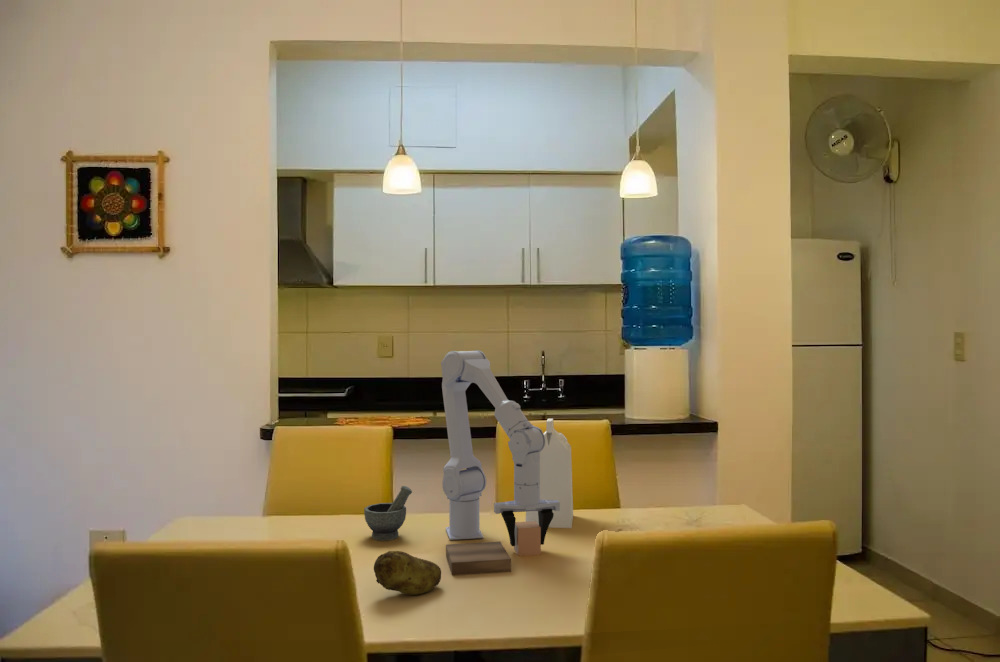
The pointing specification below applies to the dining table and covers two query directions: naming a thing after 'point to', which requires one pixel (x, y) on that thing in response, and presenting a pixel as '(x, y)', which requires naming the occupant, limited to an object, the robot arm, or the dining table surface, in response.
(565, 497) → the milk
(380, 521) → the mortar and pestle
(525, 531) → the terracotta block
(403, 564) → the potato
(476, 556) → the walnut base slab
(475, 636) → the dining table surface
